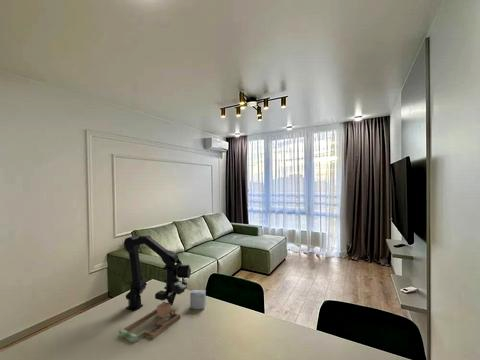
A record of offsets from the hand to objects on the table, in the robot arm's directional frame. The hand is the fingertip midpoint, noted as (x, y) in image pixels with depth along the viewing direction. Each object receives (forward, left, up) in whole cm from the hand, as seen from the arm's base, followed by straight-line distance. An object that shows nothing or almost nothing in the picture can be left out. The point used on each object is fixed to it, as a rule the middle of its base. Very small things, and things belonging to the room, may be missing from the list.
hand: (171, 305), depth 125 cm
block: (0, -5, -2) cm, 6 cm away
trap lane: (+3, -15, -2) cm, 15 cm away
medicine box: (+12, +9, -2) cm, 15 cm away
